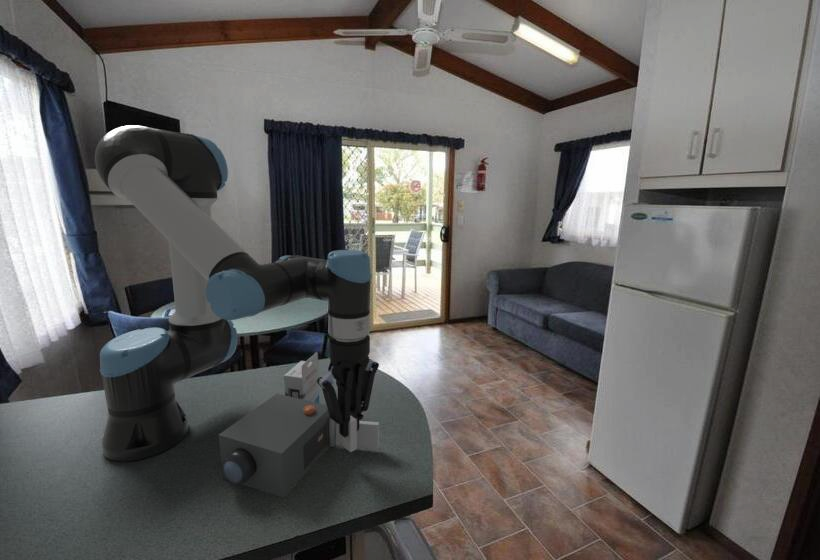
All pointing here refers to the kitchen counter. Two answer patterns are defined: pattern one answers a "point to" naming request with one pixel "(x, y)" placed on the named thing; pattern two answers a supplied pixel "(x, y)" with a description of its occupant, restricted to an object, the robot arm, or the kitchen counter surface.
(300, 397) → the ink box
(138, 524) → the kitchen counter surface
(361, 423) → the side door
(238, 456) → the block
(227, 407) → the kitchen counter surface
